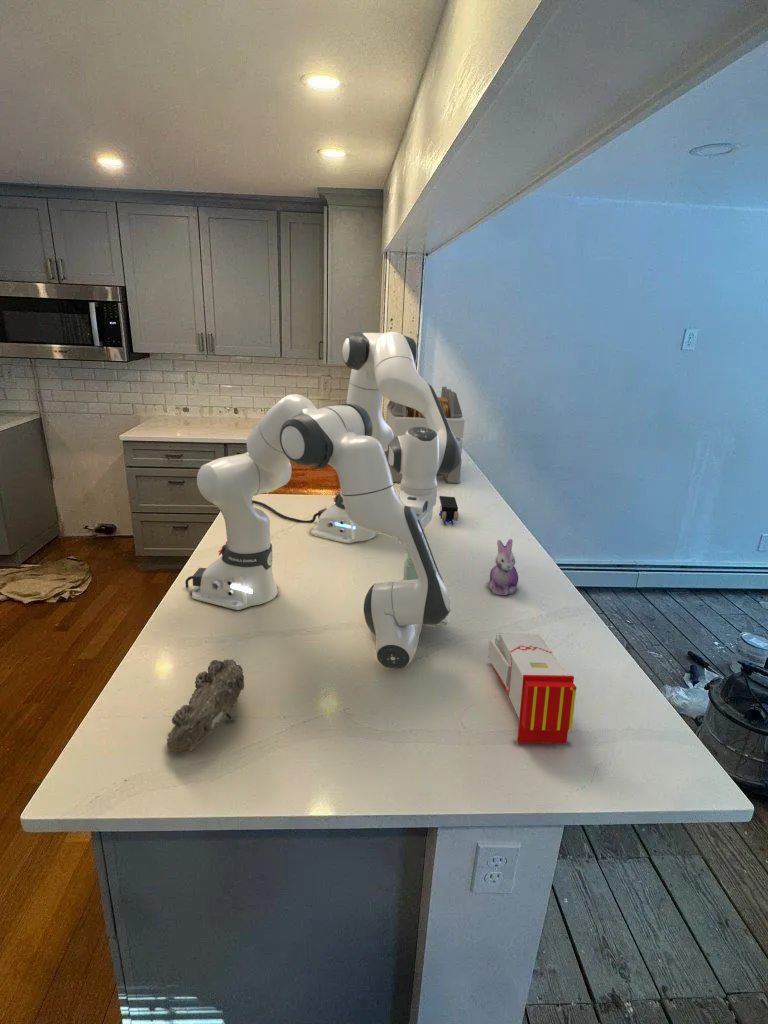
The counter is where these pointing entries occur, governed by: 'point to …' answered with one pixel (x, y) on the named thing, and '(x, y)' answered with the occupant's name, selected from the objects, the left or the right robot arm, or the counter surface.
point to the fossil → (206, 705)
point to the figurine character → (448, 509)
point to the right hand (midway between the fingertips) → (414, 548)
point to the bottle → (409, 569)
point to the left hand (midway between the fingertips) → (411, 593)
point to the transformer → (408, 418)
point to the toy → (534, 687)
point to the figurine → (504, 571)
